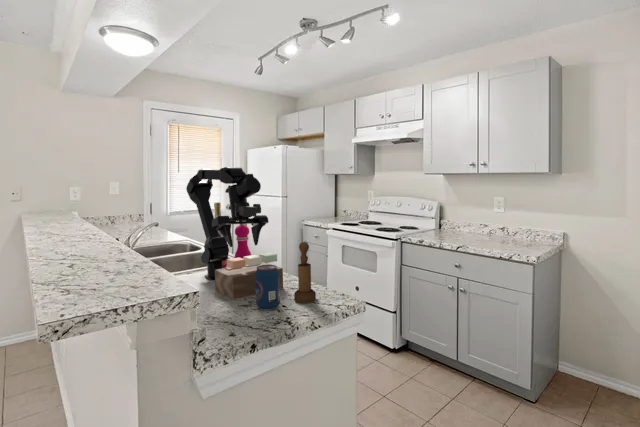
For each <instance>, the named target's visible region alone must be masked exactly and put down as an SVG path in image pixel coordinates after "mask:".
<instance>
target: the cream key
mask: <svg viewBox="0 0 640 427" xmlns="http://www.w3.org/2000/svg"><path fill="white" fill-rule="evenodd" d="M244 259H245V264H246V265H249V266H253V265H258V264H262V257H261V256H259V255H257V254H251V256H245V257H244Z"/></svg>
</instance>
